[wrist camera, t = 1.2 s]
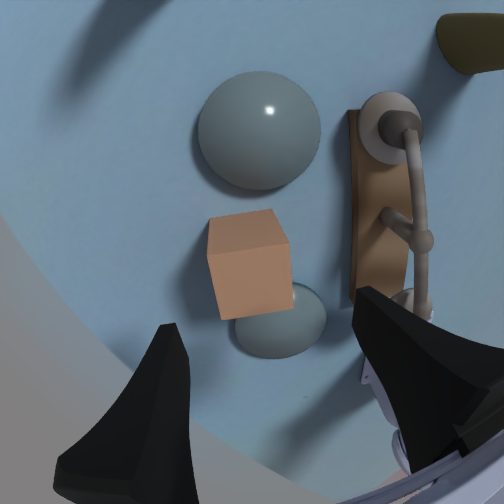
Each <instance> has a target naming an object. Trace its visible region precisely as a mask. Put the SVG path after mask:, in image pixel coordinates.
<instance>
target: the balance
mask: <svg viewBox="0 0 504 504" xmlns="http://www.w3.org/2000/svg"><path fill="white" fill-rule="evenodd" d="M348 120H349V133H350V149H351V172H352V258H351V281H350V299H351V301H352V303H353V304H354V302H355V294H356V289H357V288H361V287H365V286H371V287H373V288H374V289H376V290H377V291H379V292H381V293H382V294H384V295H385V296H387V297H391V298H390V299H391V300H393V301H394V302H396V303H397V304H399V305H401V306H402V307H404V308H405V309H407V310H408V311H410V312H412V313H413V314H415V315H417V316H418V317H420V318H422V319H424V320H426V321H428V319H429V317H430V315H431V312H432V301H431V298H430V297H429V295H428V294H427V293H428V252H429V251H430V250H431V249H432V247H433V244H434V238H433V235H432V233H431V232H430V230H428V224H427V207H426V194H425V184H424V174H423V166H422V159H421V152H420V143H421V141H422V139H423V125H422V121H421V117H420V114H419V112H418V110H417V108H416V107H415V105H414V104H413V103H412V102H411V101H410V100H409V99H408V98H407V97H405V96H404V95H402V94H399V93H396V92H380V93H377V94H375V95H373V96H371V97H370V98H369V99H368V100H367V101H366V102H365V103H364V105H363V106H362V108H361V110H348ZM412 217H413V222H412ZM409 247H410V249H411V250H412V251H413V252H414V288H409V289H405V290H403V287H404V281H405V274H406V267H407V260H408V252H409Z"/></svg>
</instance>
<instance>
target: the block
mask: <svg viewBox="0 0 504 504" xmlns="http://www.w3.org/2000/svg"><path fill="white" fill-rule="evenodd" d="M207 259H208V264H209V268H210V273H211V277H212V282H213V286H214V290H215V295H216V299H217V303H218V307H219V312H220V316H221V320H227V319H234V318H241V317H247V316H253V315H260V314H266V313H272V312H277V311H283V310H289V309H294V304H293V288H292V274H291V260H290V247H289V242H288V240H287V238H286V236H285V234H284V232H283V230H282V228H281V226H280V224H279V222H278V220H277V218H276V216H275V214H274V212H273V210H272V209H267V210H260V211H253V212H247V213H240V214H234V215H228V216H222V217H215V218H210V223H209V235H208V247H207Z"/></svg>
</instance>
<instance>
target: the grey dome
mask: <svg viewBox="0 0 504 504" xmlns="http://www.w3.org/2000/svg"><path fill="white" fill-rule="evenodd" d="M320 135H321V125H320V119H319V115H318V112H317V109H316V107H315V105H314V103H313V101H312V100H311V98H310V97H309V95H308V94H307V93H306V92H305V91H304V90H303V89H302V88H301V87H300V86H299V85H298V84H296V83H295V82H293V81H292V80H290V79H288V78H286V77H284V76H281V75H279V74H275V73H271V72H249V73H244V74H240V75H237V76H235V77H233V78H230V79H229V80H227V81H225V82H224V83H222V84H221V85H220V86H219V87H217V88H216V89H215V90H214V91H213V93H212V94H211V95H210V96H209V98H208V99H207V101H206V102H205V104H204V106H203V108H202V111H201V114H200V117H199V122H198V140H199V145H200V149H201V151H202V154H203V156H204V158H205V160H206V161H207V163H208V164H209V166H210V167H211V168H212V170H213V171H214V172H215V173H216V174H217V175H219V176H220V177H221V178H222V179H224V180H225V181H227V182H229V183H231V184H233V185H235V186H238V187H241V188H244V189H250V190H269V189H274V188H277V187H280V186H283V185H285V184H287V183H290V182H291V181H293V180H294V179H296V178H297V177H298V176H300V175H301V174H302V173H303V172H304V171H305V170H306V169H307V168H308V166H309V165H310V163H311V162H312V160H313V159H314V157H315V155H316V152H317V150H318V146H319V142H320Z"/></svg>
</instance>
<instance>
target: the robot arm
mask: <svg viewBox="0 0 504 504" xmlns="http://www.w3.org/2000/svg"><path fill="white" fill-rule="evenodd" d="M433 314H434V312H433V310H432V312H431V315H430V317H429V319H428V321H426V320H424V319H422V318H420V317H418V316H417V315H415V314H413V313H412V312H410V311H408V310H407V309H405V308H404V307H402V306H401V305H399V304H397V303H396V302H394V301H393V300H391V299H390V298H388V297H387V296H385V295H384V294H382V293H381V292H379V291H377V290H376V289H374V288H373V287H371V286H365V287H361V288H357V289H356V294H355V302H354V311H353V319H352V328H353V330H354V333H355V335H356V338H357V340H358V342H359V345H360V347H361V349H362V350H363V352H364V354H365V356H366V357H365V362H364V367H363V372H362V377H361V384H362V385H365V384H368V383H369V384H370V386H371V388H372V390H373V392H374V394H375V396H376V398H377V401H378V403H379V405H380V407H381V409H382V411H383V414H384V416H385V418H386V419H387V421H388V422H389V423H391V424H392V425H393V426H395V427H397V428H398V429H397V430H396V431H395V432H394V433H393V439H392V449H393V453H394V456H395V458H396V460H397V462H398V464H399V466H400V467H401V468H402V470H403V471H404V472H405V473H406V474H407V475H408V477H405V478H403V479H401V480H399V481H397V482H394V483H392V484H390V485H387V486H385V487H382V488H380V489H377V490H375V491H372V492H370V493H367V494H364V495H361V496H359V497H356V498H353V499H350V500H347V501H344V502H341V503H337V504H389V503H391V502H394V501H396V500H398V499H400V498H402V497H405V496H407V495H409V494H411V493H413V492H415V491H417V490H421V491H422V492H420V493H418V494H416V495H415V496H413V497H411V498H410V499H409V500H408V501H406V502H405V503H403V504H504V349H502V348H497V347H492V346H488V345H484V344H480V343H477V342H474V341H471V340H468V339H465V338H462V337H460V336H457V335H455V334H452V333H450V332H448V331H446V330H443V329H441V328H439V327H437V326H435V325H433V324H431V321H432V318H433ZM189 408H190V367H189V357H188V355H187V352H186V350H185V347H184V344H183V342H182V339H181V337H180V334H179V331H178V328H177V326H176V323H171V324H163V325H160V326H159V328H158V330H157V332H156V334H155V336H154V338H153V340H152V342H151V344H150V346H149V348H148V349H147V351H146V353H145V355H144V357H143V359H142V360H141V362H140V364H139V366H138V368H137V369H136V371H135V373H134V374H133V376H132V378H131V379H130V381H129V383H128V384H127V386H126V387H125V389H124V390H123V392H122V393H121V394H120V396H119V397H118V399H117V400H116V401H115V403H114V404H113V405H112V406H111V408H110V409H109V410H108V411H107V413H106V414H105V415H104V416H103V417H102V418H101V419H100V420H99V422H98V423H97V424H96V425H95V426H94V427H93V428H92V429H91V430H90V431H89V432H88V433H87V434H86V435H85V436H83V437H82V438H81V439H80V440H79V441H78V442H77V443H75V444H74V445H73V446H72V447H70V448H69V449H68V450H67V451H65V452H64V453H63V454H62V455H60V456H59V457H58V459H57V464H56V469H55V476H54V483H53V489H54V491H55V492H56V493H57V494H59V495H61V496H63V497H64V498H66V499H68V500H70V501H72V502H74V503H76V504H199V500H198V495H197V490H196V484H195V479H194V472H193V466H192V458H191V449H190V440H189Z"/></svg>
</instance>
